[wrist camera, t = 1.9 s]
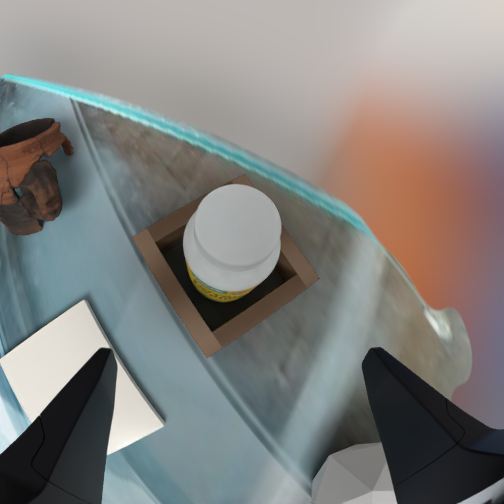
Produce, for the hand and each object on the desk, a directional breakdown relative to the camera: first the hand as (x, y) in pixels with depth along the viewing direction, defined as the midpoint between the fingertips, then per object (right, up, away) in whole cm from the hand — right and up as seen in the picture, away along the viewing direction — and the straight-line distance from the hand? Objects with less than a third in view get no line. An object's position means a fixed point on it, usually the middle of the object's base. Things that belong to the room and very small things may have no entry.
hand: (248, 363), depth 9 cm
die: (+8, -16, +10) cm, 20 cm away
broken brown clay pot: (-19, +9, +12) cm, 24 cm away
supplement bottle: (-2, +2, +13) cm, 14 cm away
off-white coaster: (-14, -7, +8) cm, 18 cm away
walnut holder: (-2, +2, +13) cm, 13 cm away
